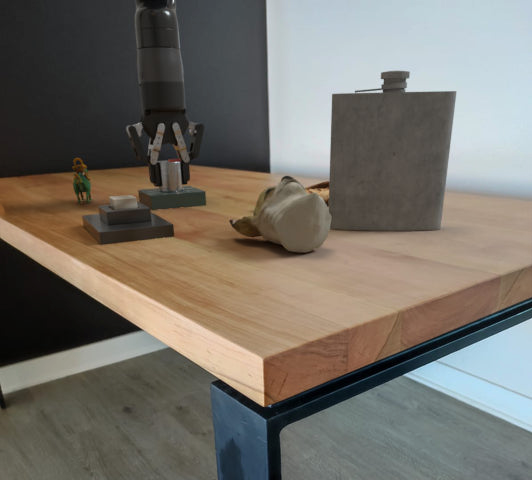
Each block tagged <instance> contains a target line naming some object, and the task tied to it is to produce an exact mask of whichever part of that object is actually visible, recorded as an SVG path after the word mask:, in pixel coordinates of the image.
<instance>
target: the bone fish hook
mask: <svg viewBox="0 0 532 480" xmlns="http://www.w3.org/2000/svg"><path fill="white" fill-rule="evenodd" d="M304 188H305V191H306V193H307V194H308V195H309V194H311V193H314V192H316V193H317V194H318V195H319V196H320V197H321V198H322V199H323V200H324V202H325V203H326V205H327V206H329V180H327V181H326V180H325V181H322V182H319V183H316V184H313V185H309V186H307V187H304Z"/></svg>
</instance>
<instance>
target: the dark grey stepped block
mask: <svg viewBox="0 0 532 480" xmlns="http://www.w3.org/2000/svg"><path fill="white" fill-rule="evenodd" d="M137 206H138V208H130V209H119V210H112V209H111V208H110V204H103V205H98V206H97V209H98V213H93V214H84V215H81V219H82V226H83V227H84V229H85V230H86V231H87V232H88V233H89V234H90V236H92V237H93V238H94V239H95V240H96V241H97V242H98V244H100V246H101V245H102V246H104V245H111V244H121V243H130V242H138V240H139V241H147V240H148V241H149V240H154V239H155V238H157V239H164V238H163V237H165V238H173V237H172V236H174V237H175V228H174V224H173V223H172V222H170V221H168V220H166V219H164V218H163V217H161V216H159V215H158V214H156V213H154V212H153V211H152V210H151V209H150V208H149V207H147V206H146V205H144V204H142V203H140V202H139V201H137ZM155 240H156V239H155Z"/></svg>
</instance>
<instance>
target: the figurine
mask: <svg viewBox="0 0 532 480" xmlns="http://www.w3.org/2000/svg"><path fill="white" fill-rule="evenodd" d="M77 161H79V162H80V164H77V163H76V162H77ZM72 164H73V166H72V168H71V169H73V170H74V171H75V170H76V171H75V173H72V175H73V176H74V177H73V183H72V187H73V191H74V194H75V195H76V200H77V203H78V204H82V203H83V201H85V200H86V203H87V204H89V203H90V202H91V203H92V201H94V198H92V195H91V194H92V193H91V190H92V189H91V188H92V184H91V183H92V182H91V179H90V177H89V172H88V171H89V170H88V166H87V165H86V164H84V162H83V160H82V158H80V157H75V158H74V159H73V161H72ZM83 193H85V197H86V199H85V198H84V194H83Z"/></svg>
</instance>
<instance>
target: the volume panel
mask: <svg viewBox="0 0 532 480" xmlns="http://www.w3.org/2000/svg"><path fill="white" fill-rule="evenodd" d="M137 192H138V202H140V203H142V204H144V205H146V206H147V207H149V208H150V209H152V210H151V211H159V210H158V209H162V210H170V209H169V208H173V209H181V208H180V207H184V208H193V206H194V207H204V206H207V196H206V195H207V193H206V191H205V190H203V189H199V188H197V187H193V186H191V185H183V190H182V191H176V192H161V191H159V187H156V188H155V187H154V188H142V189H137ZM156 209H157V210H156Z"/></svg>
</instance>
